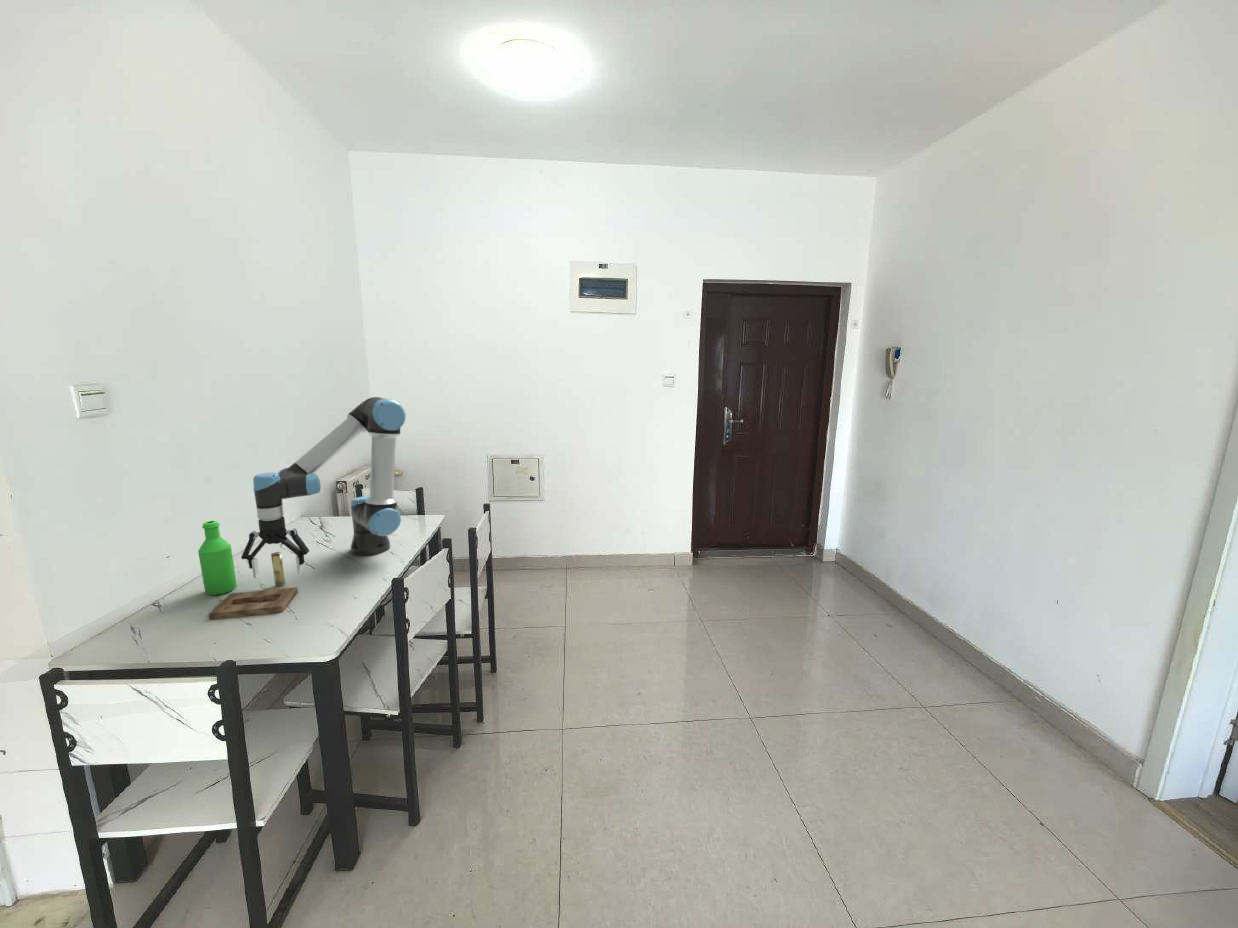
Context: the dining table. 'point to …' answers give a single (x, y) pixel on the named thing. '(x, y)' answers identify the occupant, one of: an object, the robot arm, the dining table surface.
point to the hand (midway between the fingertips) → (278, 574)
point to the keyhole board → (253, 603)
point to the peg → (278, 569)
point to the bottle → (216, 561)
